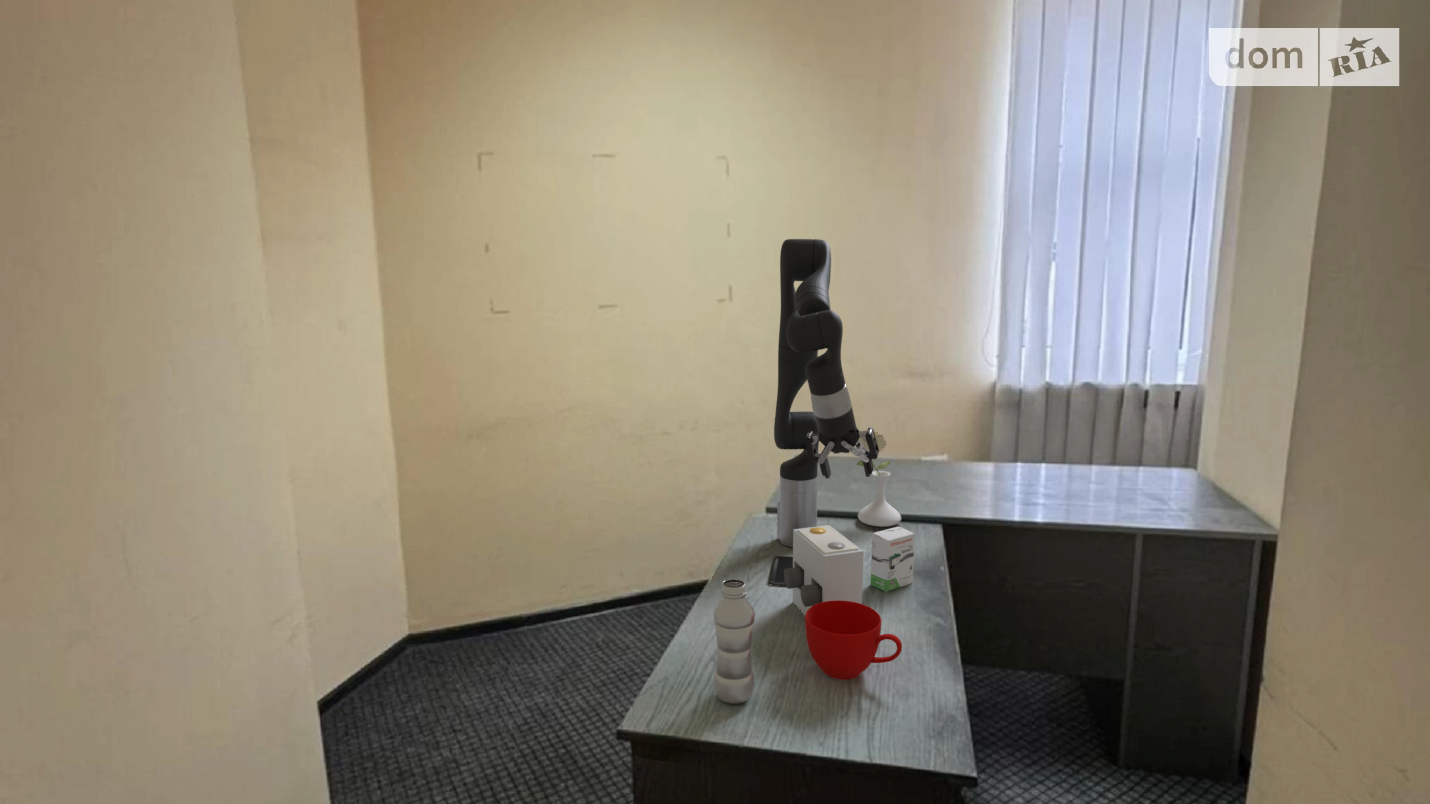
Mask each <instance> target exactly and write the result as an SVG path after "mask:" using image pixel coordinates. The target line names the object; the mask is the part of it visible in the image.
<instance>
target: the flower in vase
mask: <svg viewBox="0 0 1430 804" xmlns="http://www.w3.org/2000/svg"><path fill="white" fill-rule="evenodd" d="M874 433H875V437H876V440H877V444H878V447H879V452H882V451H884V449H886V446H887V445H888V443H887V441H886V437H885V436H884V434H881V433H879V431H874ZM859 441H860V442H861V443H863V445H864V447H865V448H866V449H868V450H869V447H868V444H867V442H865V441H864V440H863V438H859ZM891 462H892V461H891V460H889V461H884V462H882V463H880V464H878V466H877V467H876V465H875V463H874V462H873V460H872V463H873V468H874V469H875V470H873V472H872V474H871V475H872V477H873V479H874V483H875V497H874V500H872V501H871V502H870V503H869V504H868V505H866V506H864V507H863V508H861V510H860V511H858V513H857V518H858V520H859V521H860V522H861V523H863V524H866V525H868V526H872V527H878V528H879V527H881V528H883V527H891V526H895V525H897V524H899V523H900V522H901V521H902V516H901V514H900V512H898V510H897V509H895V507H893V506H892V505H891V504H890V503H888V502H887V500H886V497H885V489H886V484H887V481H888V479H889V477H890V475H891V472H889V471H885V470H880V469H884V468H887V467H888V466H889V465H890V464H891ZM855 464H856V465H857V466H861V467H864V466H863V460H862V459H860V460H859V461H858V462H857V463H855Z"/></svg>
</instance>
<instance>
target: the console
mask: <svg viewBox="0 0 1430 804" xmlns="http://www.w3.org/2000/svg"><path fill="white" fill-rule="evenodd" d="M792 557H793V568H794V567H801V568H803V569H804V585H810V584H817V583H818V584H819V585H820V586H821V587H822V602H826V601H836V600H839V601H851V602H856V603H860V604H863V583H864V582H863V580H864V578H863V577H864V550H863V549H861V548H860V547H859V546H858V545H856V544H855V543H853V541H851V540H849V538H847V537H845V536H844V535H843V534H841V532H839V531H837V530H836V529H835V528H834V527H832V526H831V525H830V524H826V525H817V527H808V528H800V529H793V547H792ZM792 604H793V605H794V604H795V605H796V606H797V607H798V608H799V609H798V608H797V607H796V606H795V605H794V606H795V607H796V608H797V609H798V611H800V610H801V611H800V612H801V613H802V615H803V616H805V615H806V612H807V610H808V609H809V608H810V607H812V606H809V607H805V606H804V605H803V603H802V600H801V587H798V588H792Z"/></svg>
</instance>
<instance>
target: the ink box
mask: <svg viewBox="0 0 1430 804" xmlns="http://www.w3.org/2000/svg"><path fill="white" fill-rule="evenodd" d="M915 536H916V535H915V532H913V531H911V530H907V529H906V528H904V527H900V526H895V527H891V528H887V529H884V530H880V531H876V532H875V531H874V532H873V533H872V537H871V538H872V539H871V559H870V560H871V561H870V562H871V563H870V565H871V566H870V586H873V587H875V588H877V589H879V590H881V591H884V592H885V593H886V592H890V591H893V590H895V589H899V588H902V587H905V586H908V585H911V583H912V584H913V581H914V579H913V578H914V577H913V576H914V558H915V557H914V556H915V554H914V553H915V538H916V537H915Z"/></svg>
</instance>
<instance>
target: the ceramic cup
mask: <svg viewBox="0 0 1430 804" xmlns="http://www.w3.org/2000/svg"><path fill="white" fill-rule="evenodd" d="M804 625H805V635H806V637H805V638H806V643H807V646H808V650H809V652H810V654H811V657H812V659H813V660H814V662H815V663H816V665H817V666H818V667H819V668H820V670H821V671H822V672H823V673H824V674H825V675H826V676H828V677H830V678H832V679H835V680H841V681H849V680H854V679H856V678H858V677H859V676H860V675H861V674H862V673H863V672H864V671H866V670H867V669H868V668H869V666H870V665H871V664H881V663H888V662H891V661H894V660H895V659H897V658H898V657H899V656H900V654H901V653H902V649H903V645H902V641H901V639H900V638H899V637H898V636H896V635H895V634H891V633H883V634H881V632H882V631H881V629H882V617H881V616H880V614H879V613H878V612H877V611H876V610H875V609H873V608H872V607H870V606H868V605H865V604H863V603H862V604H860V603H856V602H851V601H839V600H836V601H826V602H821V603H818V604H816V605H813V606H812V607H810V608H809V609H808V610H807V612H806V615H804ZM884 640H889V641H892V642H894V643H895V645H896V651H895V652H894V653H893V654H891V655H889V656H881V657H877V656H876V654H877V651H878V648H879V645H880V644H881V642H882V641H884Z"/></svg>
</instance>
